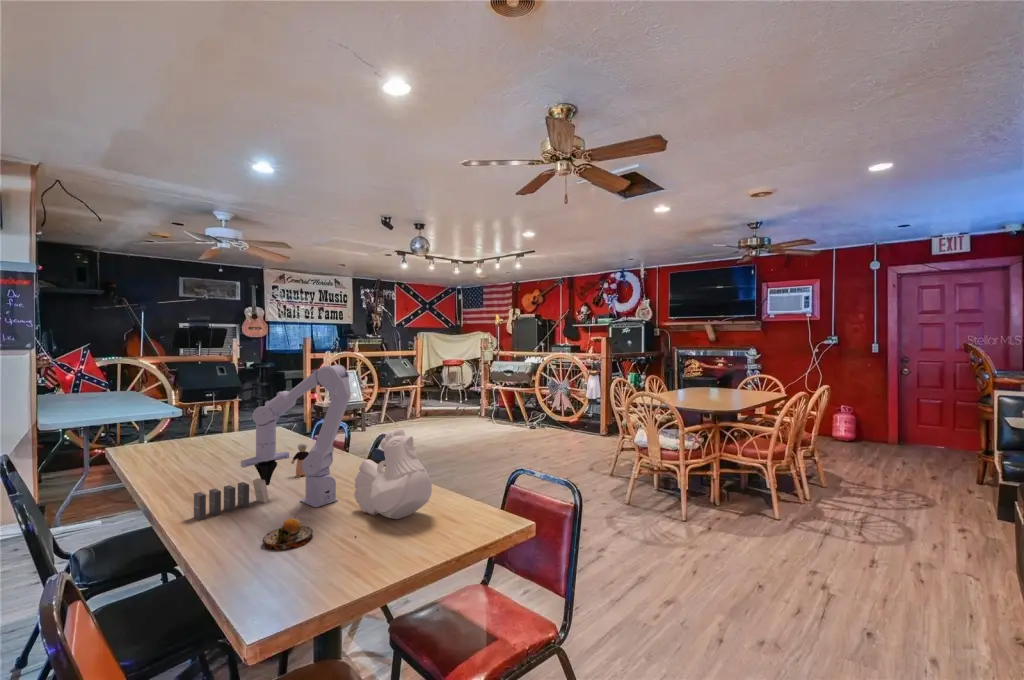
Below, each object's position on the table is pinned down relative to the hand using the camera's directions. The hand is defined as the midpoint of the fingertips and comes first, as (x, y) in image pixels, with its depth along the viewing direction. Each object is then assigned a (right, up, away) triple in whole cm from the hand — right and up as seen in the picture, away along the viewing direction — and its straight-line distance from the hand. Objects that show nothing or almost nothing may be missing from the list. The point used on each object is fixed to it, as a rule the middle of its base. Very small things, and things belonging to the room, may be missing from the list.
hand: (265, 484), depth 151 cm
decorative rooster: (+44, -6, -11) cm, 46 cm away
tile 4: (-11, -5, -15) cm, 20 cm away
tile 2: (-6, -5, -9) cm, 12 cm away
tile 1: (-4, -5, -6) cm, 8 cm away
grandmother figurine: (0, -5, +27) cm, 27 cm away
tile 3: (-9, -5, -12) cm, 16 cm away
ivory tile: (0, -5, -1) cm, 5 cm away
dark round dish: (+22, -6, -30) cm, 37 cm away
